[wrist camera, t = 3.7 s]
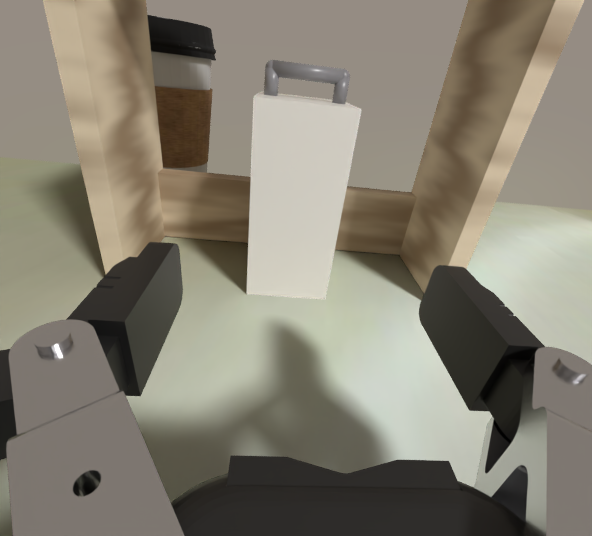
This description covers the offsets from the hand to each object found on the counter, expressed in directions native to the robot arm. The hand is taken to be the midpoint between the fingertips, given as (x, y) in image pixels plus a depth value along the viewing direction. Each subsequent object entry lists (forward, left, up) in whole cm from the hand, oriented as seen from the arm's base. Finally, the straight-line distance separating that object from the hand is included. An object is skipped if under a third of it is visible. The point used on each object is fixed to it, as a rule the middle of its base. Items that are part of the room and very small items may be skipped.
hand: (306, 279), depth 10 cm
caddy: (-7, +7, -7) cm, 12 cm away
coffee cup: (-25, +9, -7) cm, 28 cm away
